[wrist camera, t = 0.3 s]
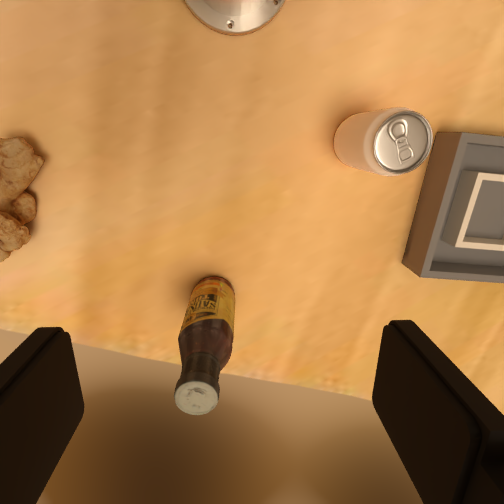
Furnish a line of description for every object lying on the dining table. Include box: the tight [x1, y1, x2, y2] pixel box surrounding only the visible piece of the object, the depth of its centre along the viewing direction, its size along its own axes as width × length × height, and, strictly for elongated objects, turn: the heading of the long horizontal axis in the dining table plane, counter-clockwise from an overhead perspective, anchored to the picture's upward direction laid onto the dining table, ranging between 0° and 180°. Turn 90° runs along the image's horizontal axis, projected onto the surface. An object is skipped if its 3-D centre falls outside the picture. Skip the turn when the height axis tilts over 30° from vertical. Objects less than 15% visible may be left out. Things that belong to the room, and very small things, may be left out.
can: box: [334, 107, 433, 176], centre depth 36 cm, size 6×6×12 cm
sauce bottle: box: [174, 277, 235, 415], centre depth 39 cm, size 7×6×20 cm
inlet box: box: [402, 132, 504, 283], centre depth 43 cm, size 18×18×5 cm
